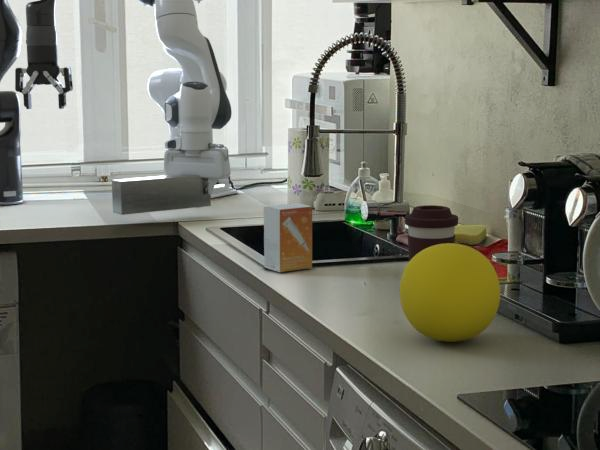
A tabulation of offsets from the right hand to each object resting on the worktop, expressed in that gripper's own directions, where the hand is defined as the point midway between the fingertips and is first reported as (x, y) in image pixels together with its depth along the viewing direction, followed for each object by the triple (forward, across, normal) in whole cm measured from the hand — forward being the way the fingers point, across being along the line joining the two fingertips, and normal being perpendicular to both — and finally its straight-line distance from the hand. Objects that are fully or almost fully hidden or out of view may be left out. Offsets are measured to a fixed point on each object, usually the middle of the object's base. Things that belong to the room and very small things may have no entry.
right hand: (197, 193), depth 284 cm
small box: (+6, -59, +47) cm, 75 cm away
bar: (+3, +4, +10) cm, 11 cm away
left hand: (-24, +24, +32) cm, 46 cm away
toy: (+7, -109, +80) cm, 135 cm away
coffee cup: (+6, -91, +47) cm, 103 cm away
